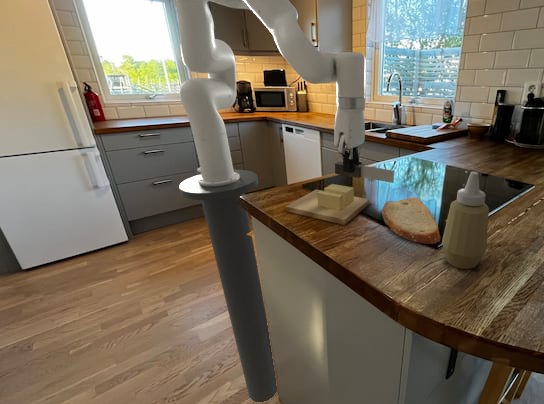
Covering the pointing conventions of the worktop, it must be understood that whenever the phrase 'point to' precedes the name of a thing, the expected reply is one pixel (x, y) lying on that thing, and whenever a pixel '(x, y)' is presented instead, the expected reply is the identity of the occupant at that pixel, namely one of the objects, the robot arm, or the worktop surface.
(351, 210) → the cutting board
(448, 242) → the squeeze bottle
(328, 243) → the worktop surface
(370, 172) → the knife
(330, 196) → the butter slice
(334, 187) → the butter block
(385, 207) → the slice of bread
